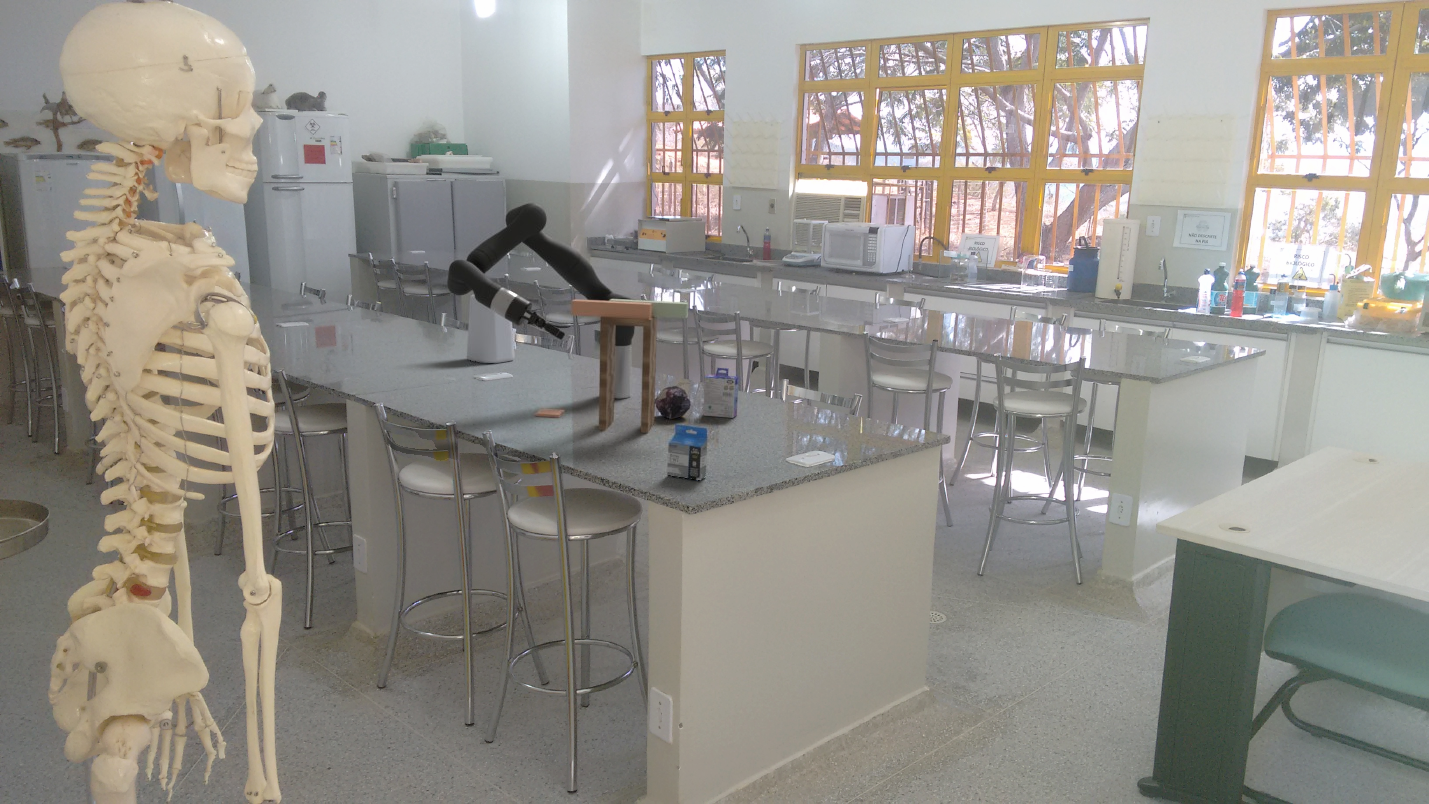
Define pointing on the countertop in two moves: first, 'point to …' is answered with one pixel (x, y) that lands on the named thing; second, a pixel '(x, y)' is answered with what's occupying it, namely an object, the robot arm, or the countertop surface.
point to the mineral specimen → (672, 402)
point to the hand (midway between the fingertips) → (560, 335)
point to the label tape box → (687, 452)
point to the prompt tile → (549, 413)
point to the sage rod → (664, 308)
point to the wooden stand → (609, 369)
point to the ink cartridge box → (720, 395)
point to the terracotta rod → (611, 309)
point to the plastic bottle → (488, 335)
